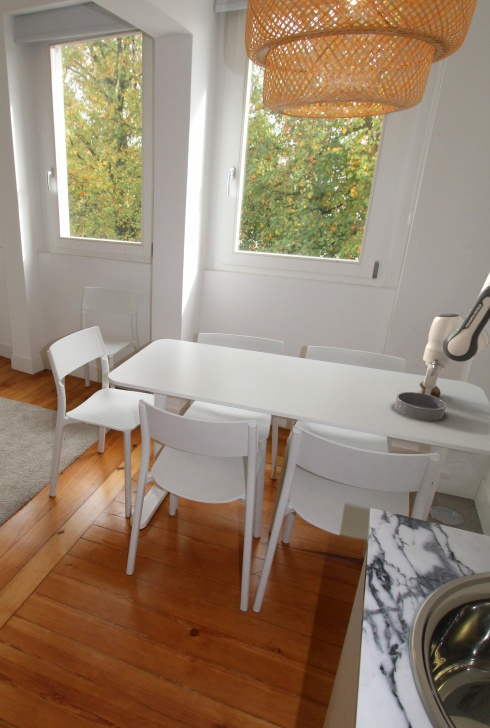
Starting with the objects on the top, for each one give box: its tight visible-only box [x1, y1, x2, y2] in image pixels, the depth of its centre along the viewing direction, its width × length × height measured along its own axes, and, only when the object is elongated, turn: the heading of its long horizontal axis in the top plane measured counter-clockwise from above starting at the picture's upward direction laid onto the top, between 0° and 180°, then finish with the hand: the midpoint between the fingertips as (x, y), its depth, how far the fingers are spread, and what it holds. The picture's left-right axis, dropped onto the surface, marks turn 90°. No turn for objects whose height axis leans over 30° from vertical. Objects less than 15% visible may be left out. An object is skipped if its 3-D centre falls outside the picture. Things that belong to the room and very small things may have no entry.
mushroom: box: [418, 380, 441, 398], centre depth 178 cm, size 8×8×6 cm
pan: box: [394, 391, 447, 421], centre depth 164 cm, size 15×15×4 cm
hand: (428, 391), depth 178 cm, fingers closed on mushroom, 8 cm apart
